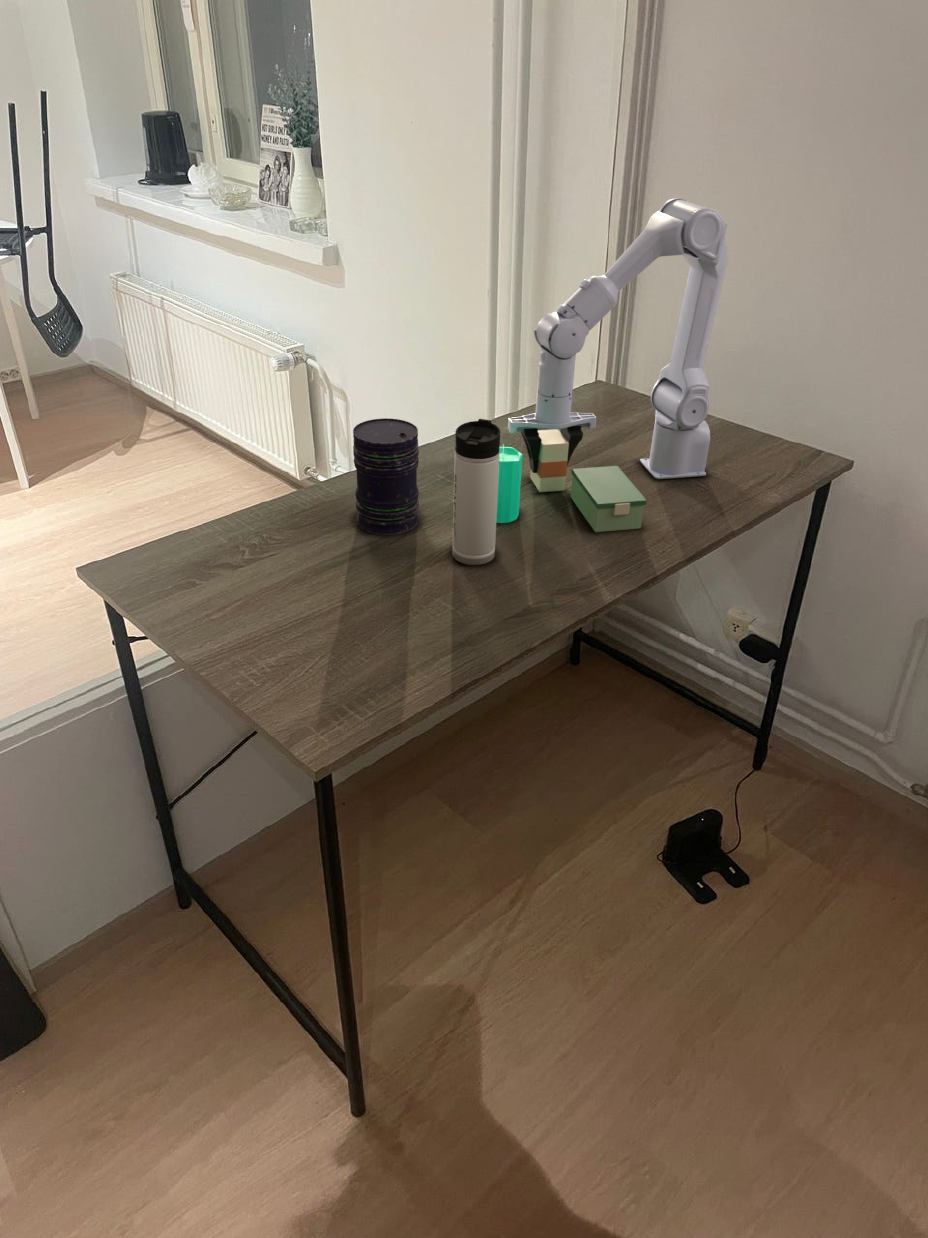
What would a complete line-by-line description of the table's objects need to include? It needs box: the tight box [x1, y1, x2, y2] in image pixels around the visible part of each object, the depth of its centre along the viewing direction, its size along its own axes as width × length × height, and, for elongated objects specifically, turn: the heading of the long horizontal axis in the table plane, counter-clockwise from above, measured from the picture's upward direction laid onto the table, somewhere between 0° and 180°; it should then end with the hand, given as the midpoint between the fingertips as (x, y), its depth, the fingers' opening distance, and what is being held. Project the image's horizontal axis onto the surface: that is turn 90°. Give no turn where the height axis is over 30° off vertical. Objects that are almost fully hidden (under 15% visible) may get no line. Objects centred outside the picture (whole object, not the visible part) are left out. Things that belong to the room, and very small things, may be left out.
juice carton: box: [529, 429, 569, 493], centre depth 152 cm, size 4×6×8 cm
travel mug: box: [452, 418, 501, 566], centre depth 129 cm, size 6×7×20 cm
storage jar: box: [352, 417, 420, 536], centre depth 139 cm, size 10×10×15 cm
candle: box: [496, 443, 523, 524], centre depth 142 cm, size 6×6×12 cm
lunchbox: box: [570, 465, 648, 533], centre depth 146 cm, size 8×14×5 cm, turn 12°
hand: (548, 469), depth 153 cm, fingers closed on juice carton, 4 cm apart
